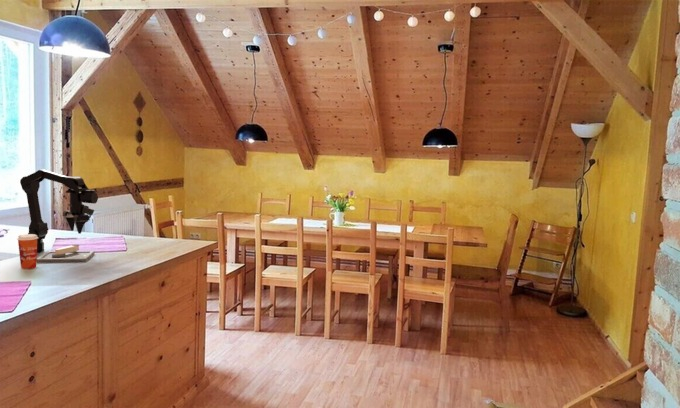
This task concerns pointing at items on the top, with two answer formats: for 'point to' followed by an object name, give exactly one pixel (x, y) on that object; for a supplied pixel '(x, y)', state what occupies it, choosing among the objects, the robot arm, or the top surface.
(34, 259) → the coffee cup
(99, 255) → the top surface
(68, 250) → the long cream stick
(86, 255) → the board
